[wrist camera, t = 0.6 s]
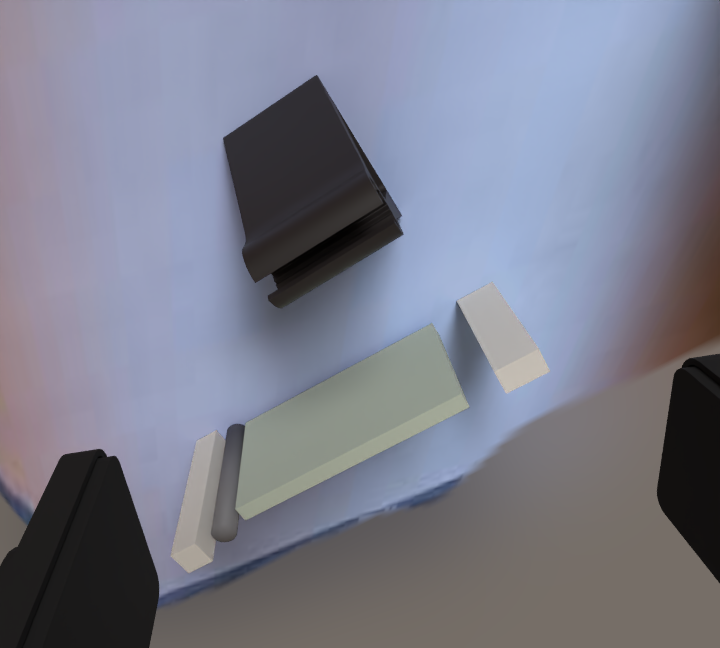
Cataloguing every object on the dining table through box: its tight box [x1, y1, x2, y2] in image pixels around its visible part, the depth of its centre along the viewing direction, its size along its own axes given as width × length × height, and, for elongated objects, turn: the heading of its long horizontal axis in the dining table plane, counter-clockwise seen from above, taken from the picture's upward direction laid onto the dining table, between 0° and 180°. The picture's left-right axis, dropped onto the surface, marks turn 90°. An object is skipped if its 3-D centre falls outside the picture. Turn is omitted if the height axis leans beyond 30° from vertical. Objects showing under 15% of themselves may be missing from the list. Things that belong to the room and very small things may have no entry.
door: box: [211, 323, 469, 542], centre depth 37 cm, size 16×1×9 cm, turn 120°
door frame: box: [171, 282, 550, 573], centre depth 37 cm, size 22×2×10 cm, turn 120°
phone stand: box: [223, 75, 404, 308], centre depth 30 cm, size 9×6×12 cm, turn 31°
